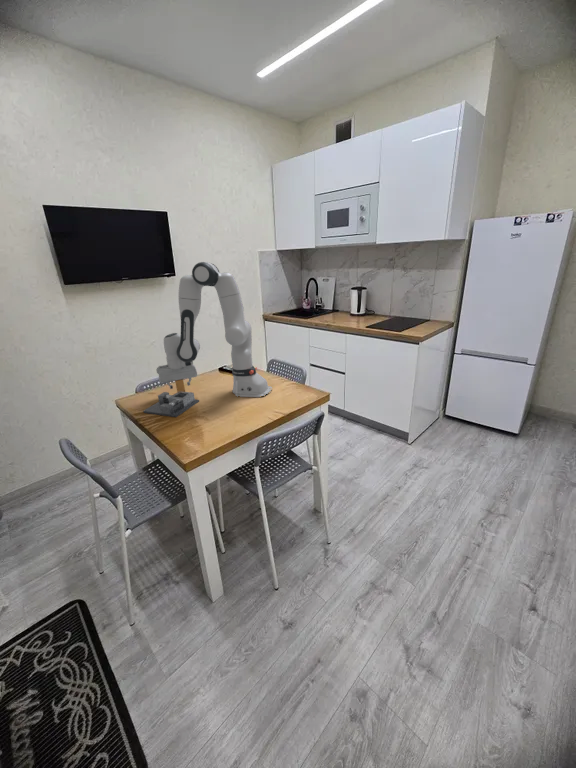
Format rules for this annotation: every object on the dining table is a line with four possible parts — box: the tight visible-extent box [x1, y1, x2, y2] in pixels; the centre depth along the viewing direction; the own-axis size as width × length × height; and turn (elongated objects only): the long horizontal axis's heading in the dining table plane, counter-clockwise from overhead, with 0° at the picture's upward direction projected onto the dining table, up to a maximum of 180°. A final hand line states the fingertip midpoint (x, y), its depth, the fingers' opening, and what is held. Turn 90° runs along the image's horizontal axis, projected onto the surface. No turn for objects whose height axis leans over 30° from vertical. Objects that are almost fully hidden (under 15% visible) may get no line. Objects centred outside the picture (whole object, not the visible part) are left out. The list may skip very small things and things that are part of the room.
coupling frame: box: [142, 391, 200, 418], centre depth 162 cm, size 20×19×6 cm
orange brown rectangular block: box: [174, 379, 186, 393], centre depth 177 cm, size 4×4×9 cm
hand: (180, 386), depth 177 cm, fingers open, 8 cm apart
